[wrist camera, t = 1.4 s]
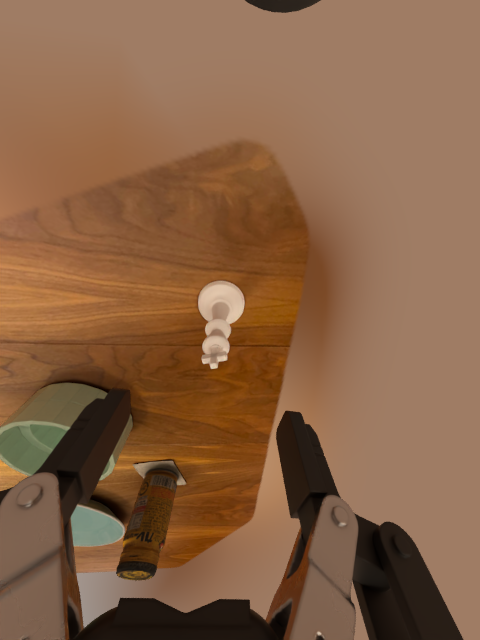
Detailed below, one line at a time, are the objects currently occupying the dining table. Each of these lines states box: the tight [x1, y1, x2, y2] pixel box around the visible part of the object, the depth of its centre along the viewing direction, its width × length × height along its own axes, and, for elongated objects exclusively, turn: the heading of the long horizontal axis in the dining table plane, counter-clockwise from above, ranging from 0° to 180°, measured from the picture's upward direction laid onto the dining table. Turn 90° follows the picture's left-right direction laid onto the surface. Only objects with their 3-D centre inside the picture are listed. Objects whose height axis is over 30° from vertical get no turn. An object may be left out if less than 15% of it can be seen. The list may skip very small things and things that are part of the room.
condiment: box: [116, 461, 186, 580], centre depth 33 cm, size 7×8×12 cm
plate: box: [71, 499, 125, 546], centre depth 44 cm, size 22×22×3 cm
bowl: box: [0, 383, 133, 480], centre depth 28 cm, size 13×13×6 cm
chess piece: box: [198, 281, 245, 369], centre depth 18 cm, size 5×5×10 cm
